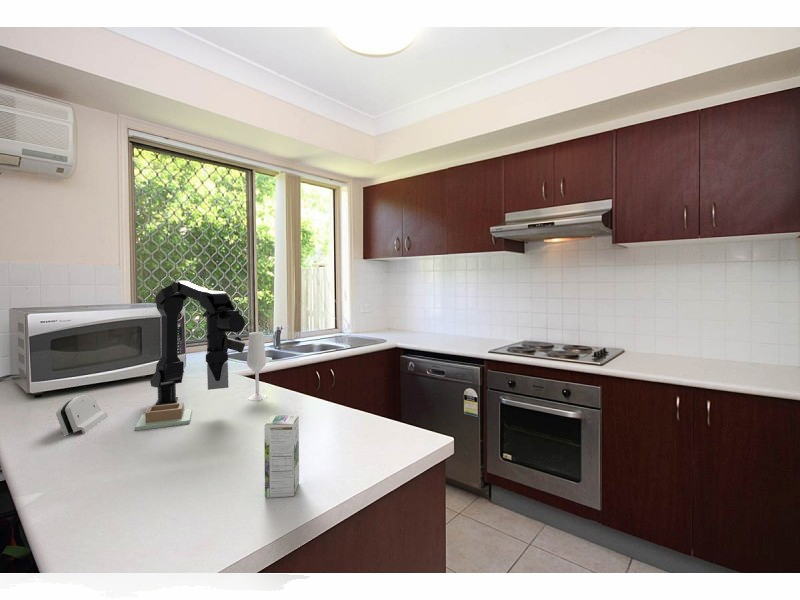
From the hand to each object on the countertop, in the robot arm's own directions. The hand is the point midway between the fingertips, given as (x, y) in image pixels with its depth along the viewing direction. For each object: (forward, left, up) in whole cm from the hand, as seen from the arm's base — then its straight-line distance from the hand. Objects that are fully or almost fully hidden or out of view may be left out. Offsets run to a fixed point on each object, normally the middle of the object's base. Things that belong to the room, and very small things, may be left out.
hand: (218, 379), depth 133 cm
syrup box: (+60, +12, -11) cm, 63 cm away
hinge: (-5, -37, -12) cm, 39 cm away
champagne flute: (-15, +13, -11) cm, 23 cm away
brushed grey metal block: (0, 0, -3) cm, 3 cm away
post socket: (0, -15, -11) cm, 19 cm away
